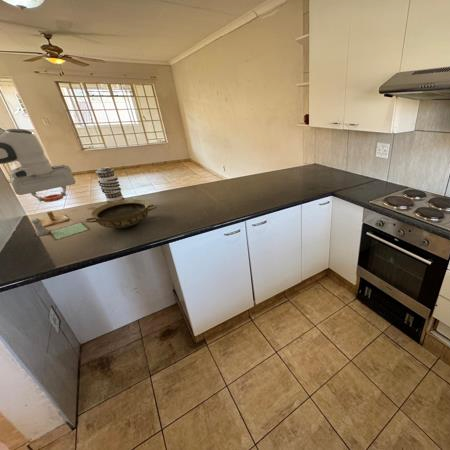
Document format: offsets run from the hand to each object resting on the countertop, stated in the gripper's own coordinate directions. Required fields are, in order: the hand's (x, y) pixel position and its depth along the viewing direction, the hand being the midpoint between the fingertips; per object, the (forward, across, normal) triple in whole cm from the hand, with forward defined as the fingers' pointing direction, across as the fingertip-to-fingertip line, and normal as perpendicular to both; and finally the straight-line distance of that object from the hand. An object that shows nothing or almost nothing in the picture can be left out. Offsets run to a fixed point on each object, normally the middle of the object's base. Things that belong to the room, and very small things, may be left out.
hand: (53, 198), depth 113 cm
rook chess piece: (+17, +9, -6) cm, 20 cm away
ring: (0, 0, 0) cm, 0 cm away
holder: (+17, +2, -19) cm, 26 cm away
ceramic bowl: (+18, -20, +17) cm, 31 cm away
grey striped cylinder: (+18, -25, -8) cm, 32 cm away
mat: (+17, 0, +1) cm, 17 cm away
